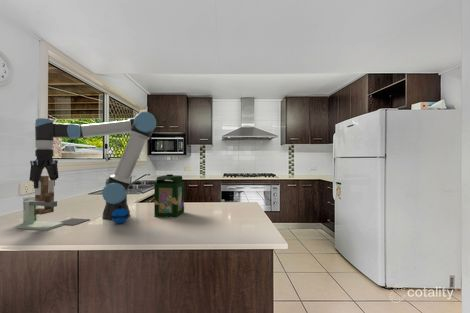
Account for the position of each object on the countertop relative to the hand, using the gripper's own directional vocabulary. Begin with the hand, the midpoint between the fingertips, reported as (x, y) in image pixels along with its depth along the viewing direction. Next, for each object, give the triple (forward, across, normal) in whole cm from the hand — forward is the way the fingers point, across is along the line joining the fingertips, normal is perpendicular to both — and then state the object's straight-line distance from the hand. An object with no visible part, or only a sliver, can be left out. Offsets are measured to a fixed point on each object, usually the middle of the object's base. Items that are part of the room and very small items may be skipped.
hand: (44, 193), depth 134 cm
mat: (+17, -12, +6) cm, 22 cm away
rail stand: (+17, 0, -3) cm, 18 cm away
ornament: (+18, -14, +33) cm, 40 cm away
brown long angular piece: (+10, 0, 0) cm, 10 cm away
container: (+18, -40, +50) cm, 66 cm away
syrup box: (+17, -6, -16) cm, 25 cm away
